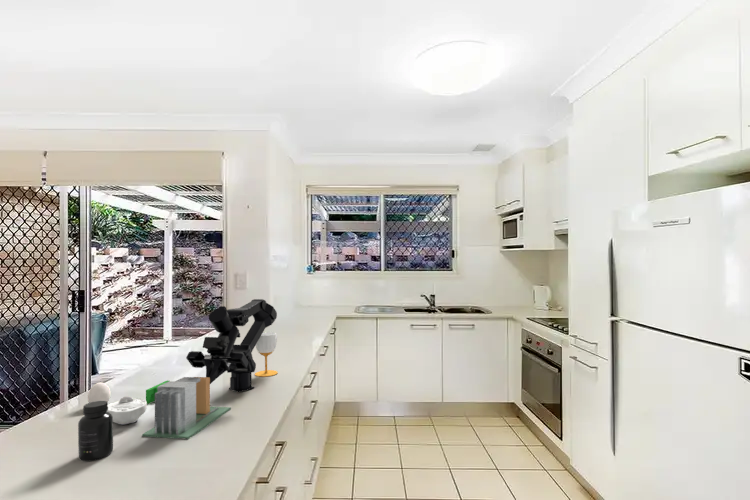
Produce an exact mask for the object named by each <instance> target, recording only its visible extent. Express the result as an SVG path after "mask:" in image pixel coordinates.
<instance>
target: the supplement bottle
mask: <svg viewBox="0 0 750 500" xmlns="http://www.w3.org/2000/svg"><path fill="white" fill-rule="evenodd" d="M108 403H109V401H108V402H107V401H95V402H91V403H89V402H88V403H86V404H84V405H83V410H82V414H83V416H82V417H80V418H79V421H78V422H77V423H78V425H77V428H78V429H77V430H78V432H77V433H78V435H77V436H78V437H77V438H78V442H77V443H78V444H77V445H78V450H77V451H78V453H77V454H78V459H79V460H80V461H82V462H94V461H97V460H101V459H104V458H106V457H108V456H109V455H111V454H112V452H113V449H114V422H113V416H112V414H111V413H109V412H107V410H108Z"/></svg>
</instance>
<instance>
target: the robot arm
mask: <svg viewBox="0 0 750 500" xmlns="http://www.w3.org/2000/svg"><path fill="white" fill-rule="evenodd" d="M208 315H209V316H208V320H209V322H210V323H211V325H212V327H213V329H214V330H215V331H216V332H217V333H218V336H217V337H216V336H204V339H203V340H204V341H203V344H202V348H203V349H205V350H207V351H206V352H207V354H204V353H203V351H198V350H197V351H196V350H191V351H189V352H188V353H187V356H186V360H187V362H189V364H190V365H191V367H192V368H196V369H201V368H202V369H203V368H204V367H205V377H210V385H211V384H212V383H213V382H214V381H216V380H217V379H218V378H219V377H220V376H222V375H223V374H224V373H225V372H227V374H228V373H229V374H230V377H229V388H228V390H230V391H233V392H235V393H241V392H245V391H250V390H253V389H255V386H253V385H252V373H256V372H255V371H256V366H257V363H256V362H255V360H254V357H253V354H252V353H253V351H254V348H256V346H255V345H256V344H257V342H258V340H259V338H260V337H261V335H262V333H263V332H265V329H266V328H268V327H270V326H272V325H273V324H274V323H275V321H276V320H277V317H278V313H277V310H276V309H275V307H274V306H273V305H271V304H269V303H267V301H266V299H263V298H260V299H259V298H258V299H257V298H256V299H255V298H254V299H252V300H251V301H249V302H248V303H246V304H244V305H242V306H240V307H237V308H235V307H234V308H230V309H227V307H226V306H224V305H223V306H221V305H220V306H219V307H218V308H216V309H214V310H213V311H211V312H210V313H209V314H208ZM250 317H253V320H254V321H253V323H252V325H251V326H250V328H249V330H248V331H247V333H246V334H245V336H244V338H243V339H242V341H241V343H240V344H235V343H236V340H237V338H241V333H240V330H239V328H238V327H244V326H246V324H247V323H248V322H249V318H250Z"/></svg>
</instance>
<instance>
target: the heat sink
mask: <svg viewBox="0 0 750 500" xmlns="http://www.w3.org/2000/svg"><path fill="white" fill-rule="evenodd" d="M198 377H199V376H192V377H191V376H183V377H182V378H178V379H177V380H174V381H172V380H171V381H170V380H168V381H169V382H167V383H164V384H162V385H160V386H158V390H157V393H155V401H154V427H155V434H158V433H159V432H161V431H162V434H165V433H167V432H169V435H172V434H173V433H175V432H176V435H179V434H181V433H182V432H186V431H188V430H189V429H191V428H192V427H194V426H195V425H196V424H197V423H198V422H200V421H201V420H203V419H204V418H206V417H207V416H209V415H210V414H212V413H213V412H215V411H216V410H218V407H219V406H215V407H216V408H215V409H213V410H212V411H210V412H209V413H207V414H206V415H204V416H202V417H201V418H199V419H198V420H196V383H198V382H200V378H198Z"/></svg>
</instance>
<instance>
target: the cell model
mask: <svg viewBox="0 0 750 500" xmlns="http://www.w3.org/2000/svg"><path fill="white" fill-rule="evenodd" d="M147 405H148V404H147V401H146V400H144V399H142V398H133V397H131V396H129V395H126V396H123V397H122V398H120V400H117V401H115V402H110V403H109V404H108V410H107V412H109V413H111V414H112V416H113V423H116V424H117V425H121V426H122V425H129V424H131V423H135V422H137V421H138V419H140V418H141V417H142V415H144V413H146V411H147Z"/></svg>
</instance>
